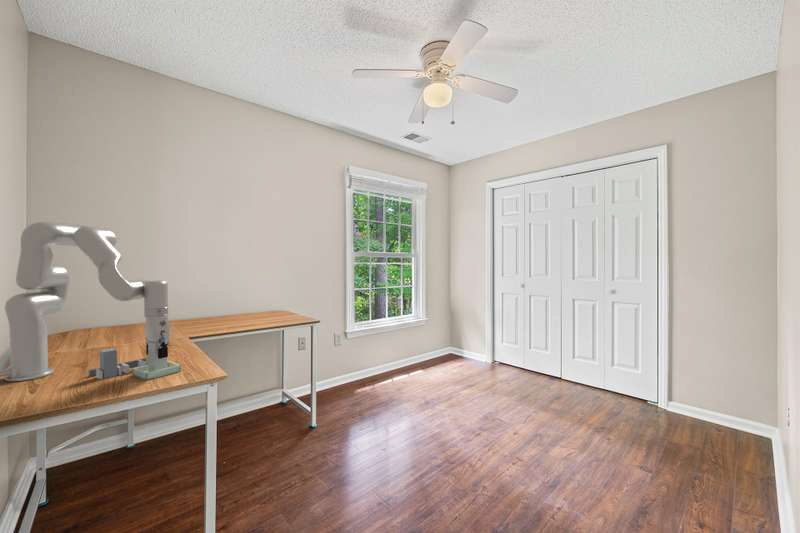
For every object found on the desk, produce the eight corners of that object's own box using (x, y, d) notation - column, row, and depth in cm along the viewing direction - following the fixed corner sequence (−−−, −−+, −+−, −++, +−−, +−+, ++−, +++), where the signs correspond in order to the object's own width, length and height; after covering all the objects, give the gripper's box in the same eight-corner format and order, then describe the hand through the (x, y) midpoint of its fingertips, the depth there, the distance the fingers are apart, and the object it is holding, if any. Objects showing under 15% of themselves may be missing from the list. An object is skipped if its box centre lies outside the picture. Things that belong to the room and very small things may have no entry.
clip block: (99, 382, 123) (99, 373, 123) (88, 376, 129) (88, 368, 129) (173, 364, 144) (173, 357, 144) (160, 360, 150) (160, 353, 150)
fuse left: (104, 378, 127) (103, 352, 126) (100, 376, 129) (99, 350, 128) (117, 375, 130) (117, 349, 130) (113, 373, 132) (112, 348, 132)
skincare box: (167, 370, 134) (167, 340, 133) (155, 374, 130) (154, 343, 130) (159, 368, 137) (159, 338, 137) (147, 371, 133) (147, 340, 133)
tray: (145, 380, 125) (145, 373, 125) (132, 374, 131) (132, 368, 131) (180, 371, 135) (180, 365, 135) (167, 366, 141) (167, 360, 141)
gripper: (177, 313, 131) (178, 357, 131) (156, 309, 140) (157, 350, 141) (155, 315, 125) (156, 362, 125) (135, 311, 134) (136, 354, 134)
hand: (157, 355), depth 133 cm, fingers open, 9 cm apart
